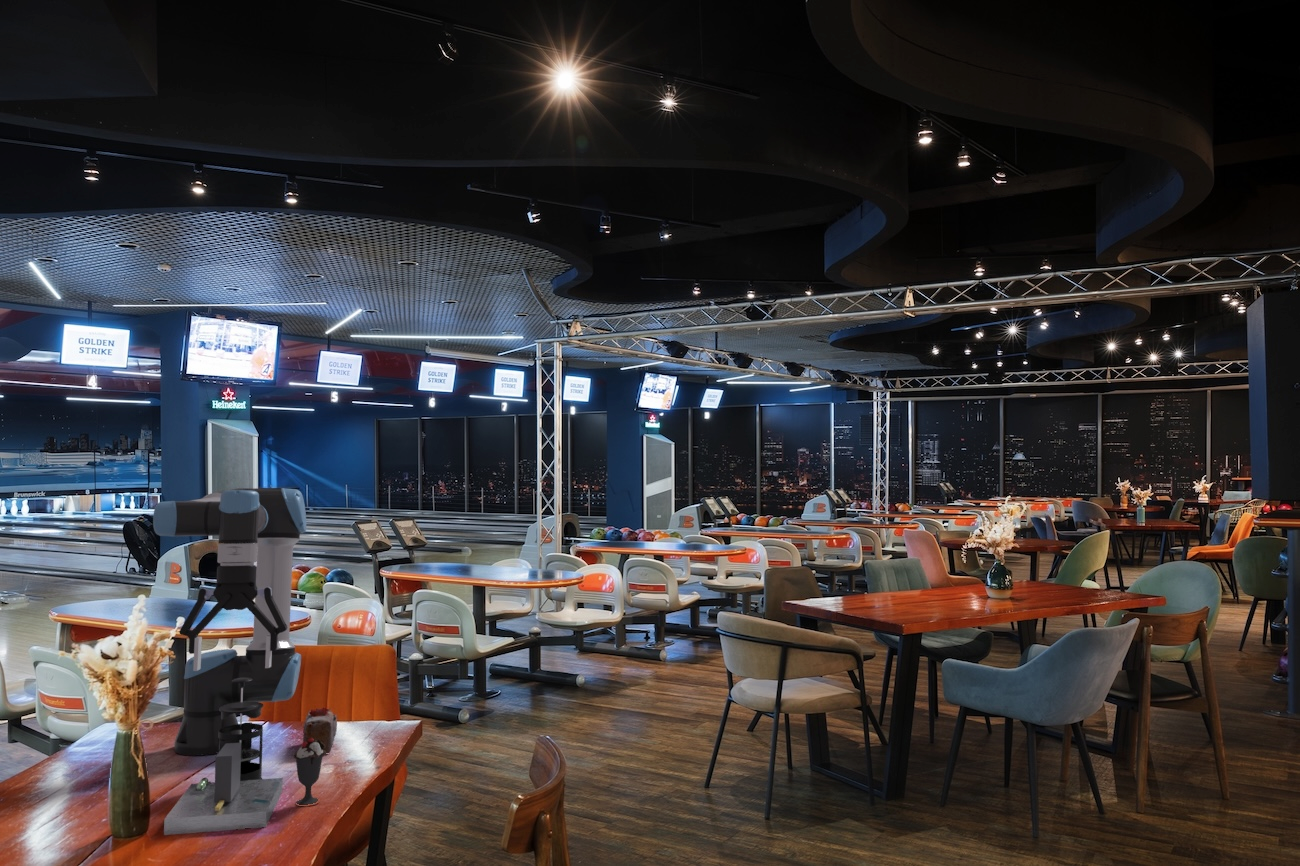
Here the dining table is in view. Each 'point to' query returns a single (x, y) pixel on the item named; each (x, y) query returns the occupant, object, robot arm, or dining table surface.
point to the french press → (244, 733)
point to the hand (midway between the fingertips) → (232, 668)
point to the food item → (321, 727)
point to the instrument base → (224, 807)
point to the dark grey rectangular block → (227, 773)
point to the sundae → (309, 766)
